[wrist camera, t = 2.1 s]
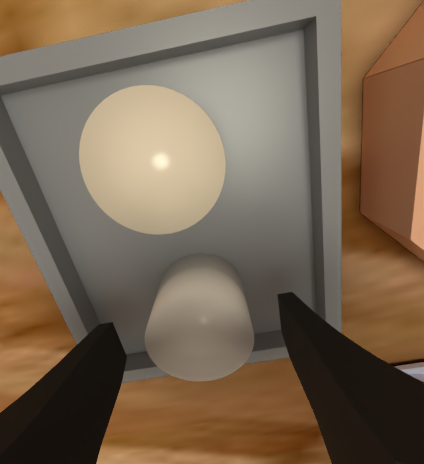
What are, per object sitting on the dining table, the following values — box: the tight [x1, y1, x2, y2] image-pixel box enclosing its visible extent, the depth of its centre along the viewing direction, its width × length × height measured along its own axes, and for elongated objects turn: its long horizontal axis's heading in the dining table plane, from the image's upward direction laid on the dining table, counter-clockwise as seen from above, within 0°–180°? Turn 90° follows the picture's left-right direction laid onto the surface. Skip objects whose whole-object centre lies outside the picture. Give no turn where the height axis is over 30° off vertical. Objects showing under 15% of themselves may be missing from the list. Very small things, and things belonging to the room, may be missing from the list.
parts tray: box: [0, 0, 342, 383], centre depth 12 cm, size 16×14×2 cm
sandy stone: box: [79, 85, 226, 234], centre depth 10 cm, size 4×4×4 cm
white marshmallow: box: [144, 253, 254, 382], centre depth 12 cm, size 4×4×4 cm
